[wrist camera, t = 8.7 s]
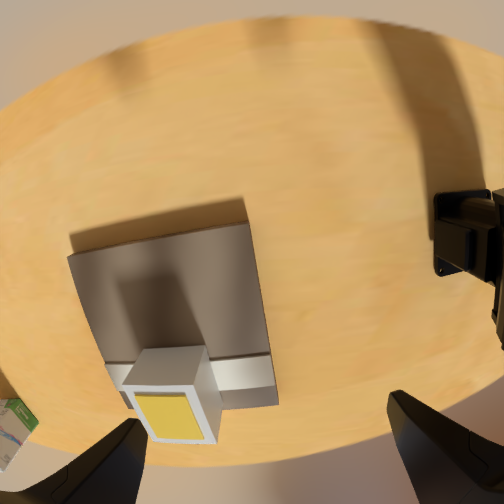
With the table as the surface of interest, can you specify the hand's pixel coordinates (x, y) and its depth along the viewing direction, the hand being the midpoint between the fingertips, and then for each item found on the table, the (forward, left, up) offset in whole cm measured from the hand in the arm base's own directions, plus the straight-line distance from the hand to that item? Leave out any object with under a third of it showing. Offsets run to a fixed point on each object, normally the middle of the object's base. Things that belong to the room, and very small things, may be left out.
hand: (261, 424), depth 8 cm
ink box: (+39, +16, -12) cm, 44 cm away
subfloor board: (+7, +2, -12) cm, 14 cm away
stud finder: (+7, +6, -11) cm, 14 cm away
